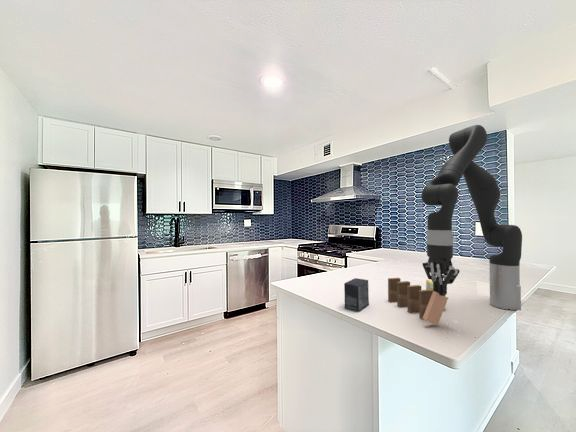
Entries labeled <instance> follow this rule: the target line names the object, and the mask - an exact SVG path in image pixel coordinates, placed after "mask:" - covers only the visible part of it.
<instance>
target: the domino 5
mask: <svg viewBox="0 0 576 432" xmlns="http://www.w3.org/2000/svg"><path fill="white" fill-rule="evenodd" d="M448 300H449V297H447V296H446V295H445V296H441V295H439V293H438V292H435V291H433V293H432V295H431V298H430V301H429V303H428V306H427V308H426V311H425V313H424V316H423V318H422V319H424V321H426V322H428V323H431V324H433V325H435V326H438V325H439V323H440V320H441V319H442V318H441V317H442V315H443V312H444V311H443V310H444V308H446V305H447V302H448ZM422 319H421V320H422Z"/></svg>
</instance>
